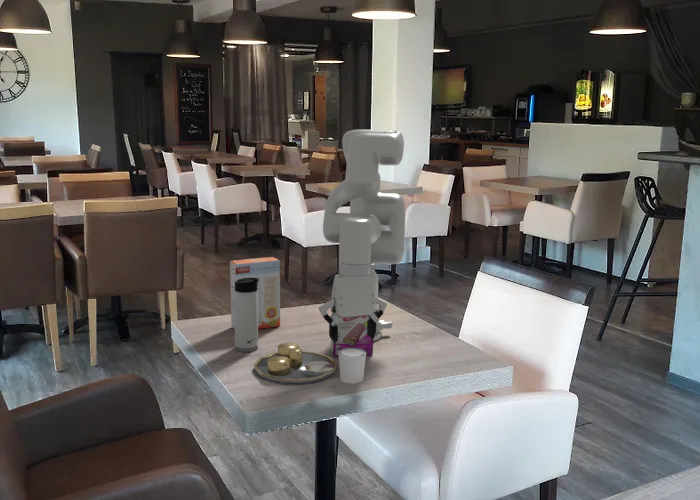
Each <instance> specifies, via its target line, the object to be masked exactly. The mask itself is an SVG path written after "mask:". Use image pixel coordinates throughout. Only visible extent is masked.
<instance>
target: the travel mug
mask: <svg viewBox="0 0 700 500" xmlns="http://www.w3.org/2000/svg"><path fill="white" fill-rule="evenodd" d="M258 281H259V278H243V279H239V280H237V281H235V330H234V342H235V343H234V348H235V350H236V351H238V352H243V353H250V352H254V351H256V350H258V349H259V329H258V287H257V286H258Z"/></svg>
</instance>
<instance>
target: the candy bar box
mask: <svg viewBox="0 0 700 500" xmlns="http://www.w3.org/2000/svg"><path fill="white" fill-rule="evenodd" d="M374 312H375V311H374ZM368 319H369V317H368V316H358V317H346V318H341V319H340V320H339V321H338V322H337V324H336V325H337V326H338V341H337V342H334V341H333V340H332V339H331V338H330V352H331V354H332V356H333V357H339V351H340V350H342V349H346V348H357V349H362V350H364V351H365V352H366V356H373V353H374V341H373V338H371V337H369V336H368V335H367V321H368Z"/></svg>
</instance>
